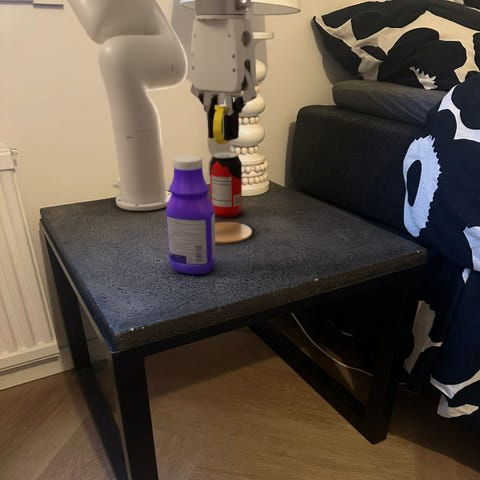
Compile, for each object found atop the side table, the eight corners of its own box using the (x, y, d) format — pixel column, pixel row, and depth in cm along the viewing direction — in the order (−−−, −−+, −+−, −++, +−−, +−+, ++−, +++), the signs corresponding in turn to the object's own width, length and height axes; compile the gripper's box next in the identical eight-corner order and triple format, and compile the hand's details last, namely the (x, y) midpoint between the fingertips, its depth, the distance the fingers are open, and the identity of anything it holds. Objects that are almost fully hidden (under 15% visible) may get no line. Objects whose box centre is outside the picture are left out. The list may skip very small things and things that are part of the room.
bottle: (219, 263, 78) (216, 154, 69) (210, 278, 73) (205, 163, 64) (177, 259, 79) (169, 151, 70) (165, 274, 75) (155, 160, 65)
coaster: (187, 235, 88) (187, 233, 88) (221, 220, 95) (221, 218, 95) (229, 248, 83) (229, 246, 83) (262, 231, 90) (262, 229, 90)
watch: (225, 147, 77) (224, 107, 74) (209, 146, 78) (208, 107, 75) (236, 140, 82) (236, 103, 79) (221, 139, 83) (221, 102, 80)
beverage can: (248, 213, 98) (248, 153, 92) (227, 221, 94) (226, 159, 88) (225, 206, 102) (224, 148, 95) (205, 214, 98) (202, 154, 91)
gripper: (280, 7, 69) (275, 140, 78) (196, 9, 77) (202, 129, 87) (249, 6, 63) (248, 148, 73) (163, 8, 72) (173, 136, 82)
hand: (223, 137), depth 80 cm, fingers closed on watch, 2 cm apart
